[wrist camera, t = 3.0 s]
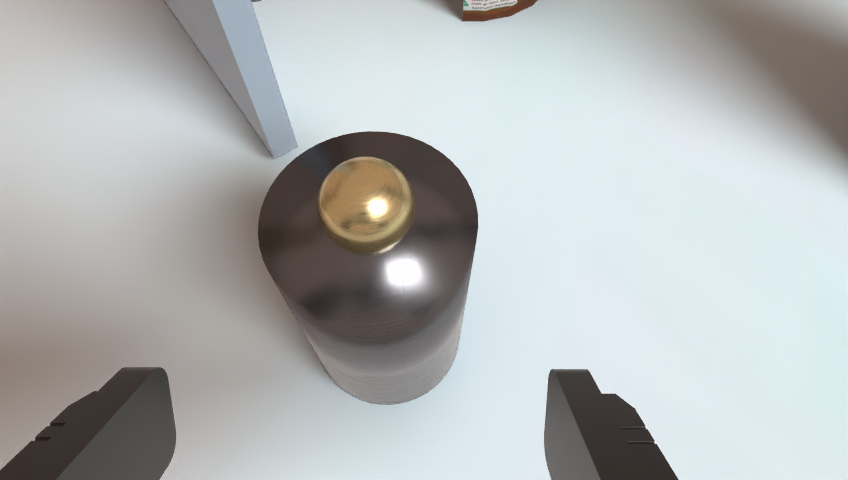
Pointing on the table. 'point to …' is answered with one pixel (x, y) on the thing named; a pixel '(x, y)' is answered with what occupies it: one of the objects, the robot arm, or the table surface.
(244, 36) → the cabinet door
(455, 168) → the pepper mill
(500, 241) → the table surface
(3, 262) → the table surface
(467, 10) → the food container
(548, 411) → the robot arm
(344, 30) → the table surface
